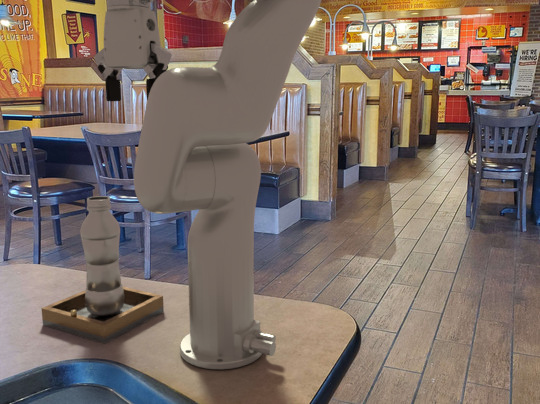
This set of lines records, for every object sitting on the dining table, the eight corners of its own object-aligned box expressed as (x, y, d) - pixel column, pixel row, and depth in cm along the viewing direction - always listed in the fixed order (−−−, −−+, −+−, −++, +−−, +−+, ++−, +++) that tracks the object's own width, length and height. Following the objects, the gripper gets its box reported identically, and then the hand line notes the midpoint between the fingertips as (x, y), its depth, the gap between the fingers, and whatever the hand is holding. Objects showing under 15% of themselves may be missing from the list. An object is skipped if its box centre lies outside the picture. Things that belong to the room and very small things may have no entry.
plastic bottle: (130, 305, 94) (124, 194, 90) (118, 321, 88) (111, 202, 84) (93, 305, 95) (86, 194, 91) (79, 321, 88) (70, 202, 84)
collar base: (163, 311, 94) (162, 291, 94) (104, 343, 82) (103, 320, 82) (105, 297, 101) (104, 278, 100) (42, 325, 89) (41, 303, 88)
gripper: (181, 2, 94) (184, 101, 97) (108, 9, 102) (113, 100, 105) (152, -4, 88) (157, 102, 91) (77, 3, 96) (83, 101, 99)
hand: (133, 101), depth 98 cm, fingers open, 9 cm apart
